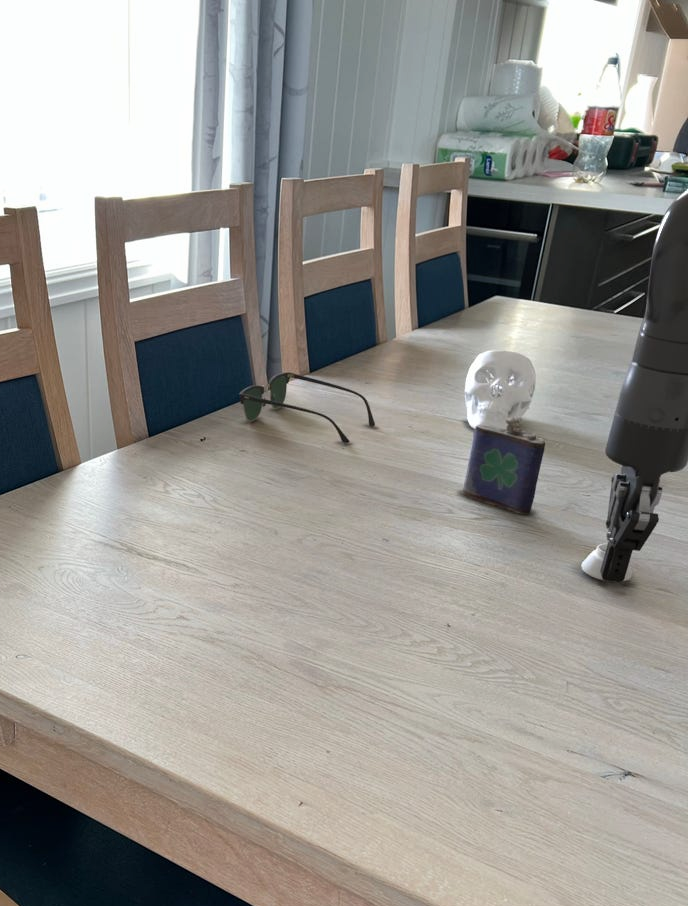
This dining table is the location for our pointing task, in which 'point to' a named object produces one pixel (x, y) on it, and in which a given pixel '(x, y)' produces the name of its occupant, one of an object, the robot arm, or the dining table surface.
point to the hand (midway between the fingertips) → (611, 578)
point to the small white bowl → (599, 563)
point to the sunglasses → (277, 388)
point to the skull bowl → (499, 388)
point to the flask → (504, 466)
